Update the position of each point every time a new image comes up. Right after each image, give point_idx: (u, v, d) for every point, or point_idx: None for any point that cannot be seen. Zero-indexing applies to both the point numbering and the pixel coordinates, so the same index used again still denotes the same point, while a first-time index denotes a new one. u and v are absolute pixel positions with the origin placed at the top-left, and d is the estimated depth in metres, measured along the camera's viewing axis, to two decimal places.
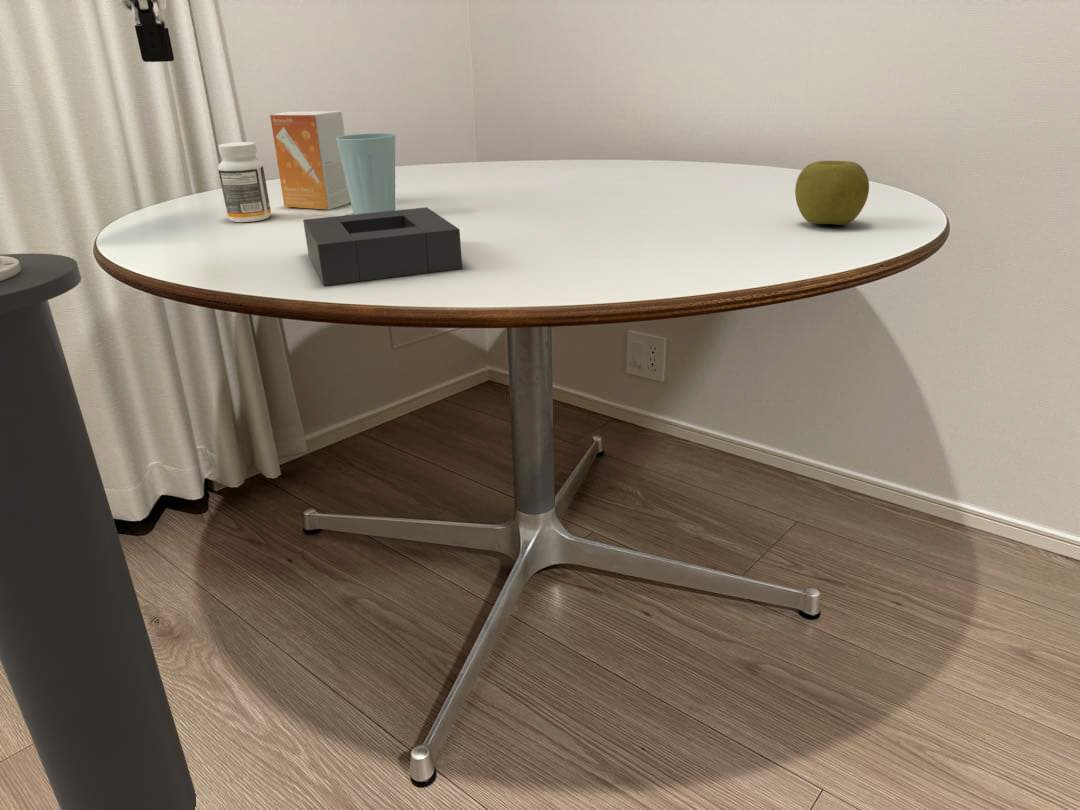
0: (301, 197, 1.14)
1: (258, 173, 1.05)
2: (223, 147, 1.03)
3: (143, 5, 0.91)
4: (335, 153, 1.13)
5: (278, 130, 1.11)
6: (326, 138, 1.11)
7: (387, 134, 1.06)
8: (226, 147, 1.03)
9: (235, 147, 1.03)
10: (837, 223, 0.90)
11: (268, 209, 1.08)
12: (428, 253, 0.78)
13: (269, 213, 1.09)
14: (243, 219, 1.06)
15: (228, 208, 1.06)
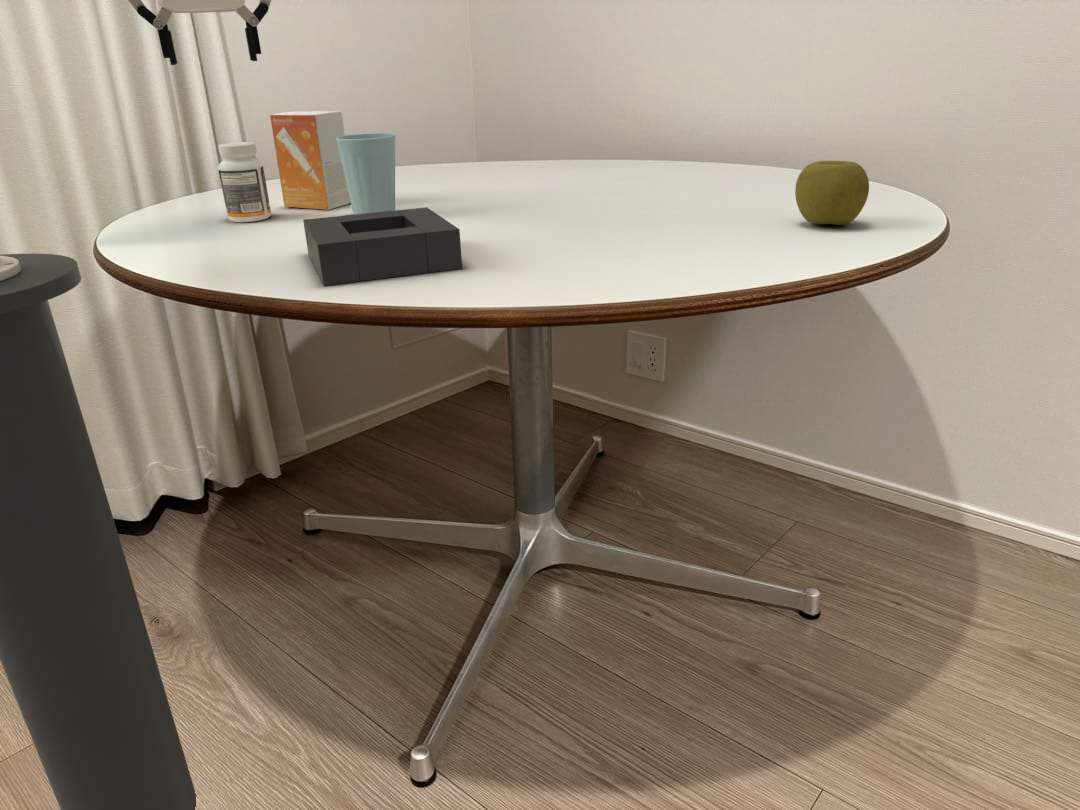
0: (301, 197, 1.14)
1: (258, 173, 1.05)
2: (223, 147, 1.03)
3: None
4: (335, 153, 1.13)
5: (278, 130, 1.11)
6: (326, 138, 1.10)
7: (387, 134, 1.06)
8: (226, 147, 1.03)
9: (235, 147, 1.03)
10: (837, 223, 0.90)
11: (268, 209, 1.08)
12: (428, 253, 0.78)
13: (269, 213, 1.09)
14: (243, 219, 1.06)
15: (228, 208, 1.06)
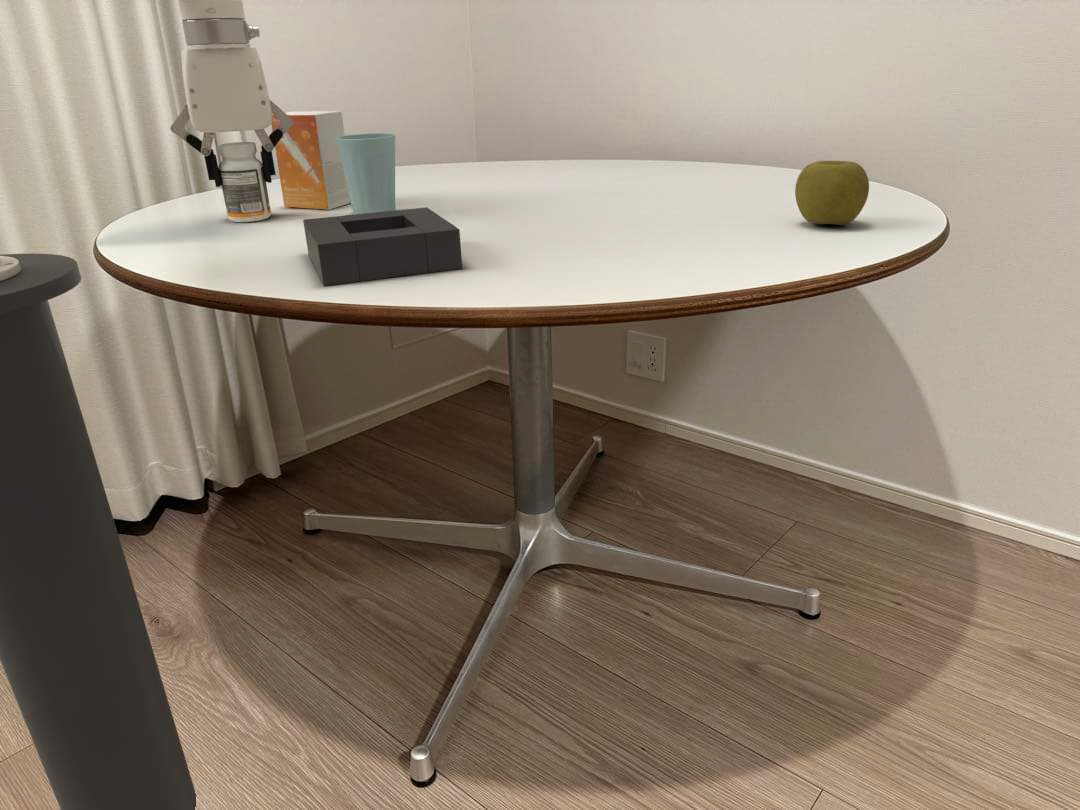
0: (301, 197, 1.14)
1: (258, 173, 1.05)
2: (223, 147, 1.03)
3: (187, 142, 1.03)
4: (335, 153, 1.13)
5: None
6: (325, 138, 1.10)
7: (387, 134, 1.06)
8: (226, 147, 1.03)
9: (235, 147, 1.03)
10: (837, 223, 0.90)
11: (268, 209, 1.08)
12: (428, 253, 0.78)
13: (269, 213, 1.09)
14: (243, 219, 1.06)
15: (228, 208, 1.06)
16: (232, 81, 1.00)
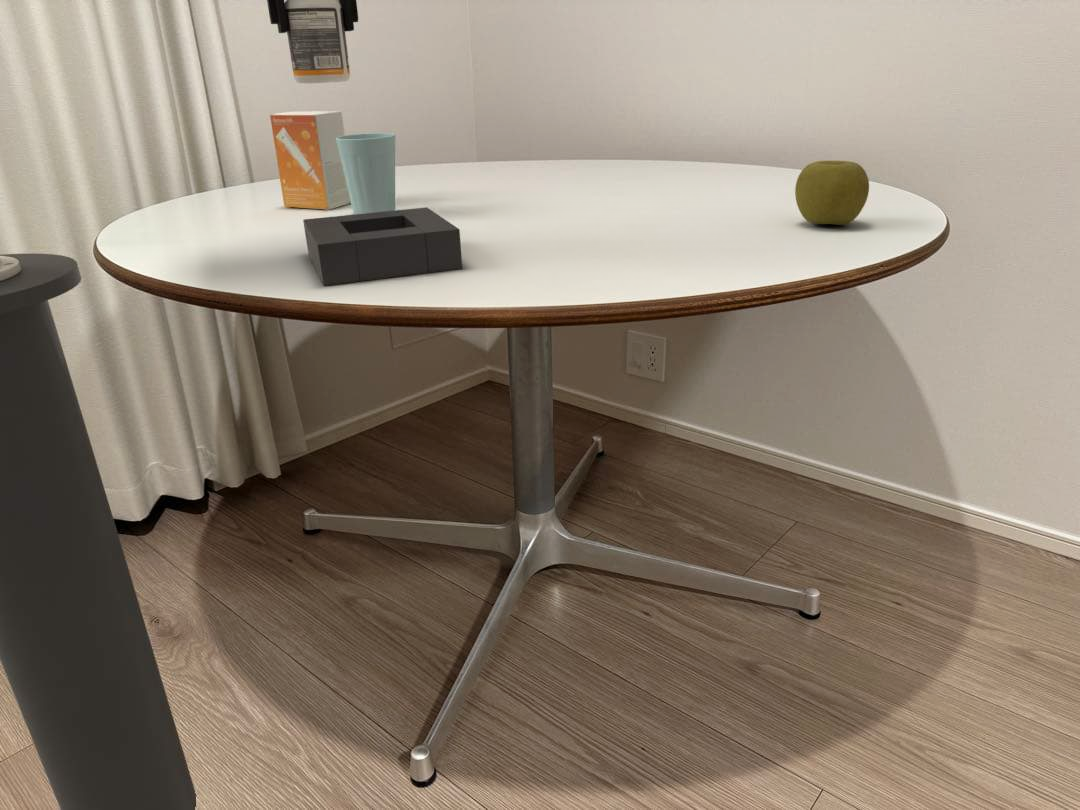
0: (301, 197, 1.14)
1: (338, 14, 0.79)
2: None
3: None
4: (335, 153, 1.13)
5: (278, 130, 1.11)
6: (326, 138, 1.10)
7: (387, 134, 1.06)
8: None
9: None
10: (837, 223, 0.90)
11: (348, 68, 0.81)
12: (428, 253, 0.78)
13: (348, 74, 0.82)
14: (316, 78, 0.79)
15: (296, 63, 0.79)
16: None
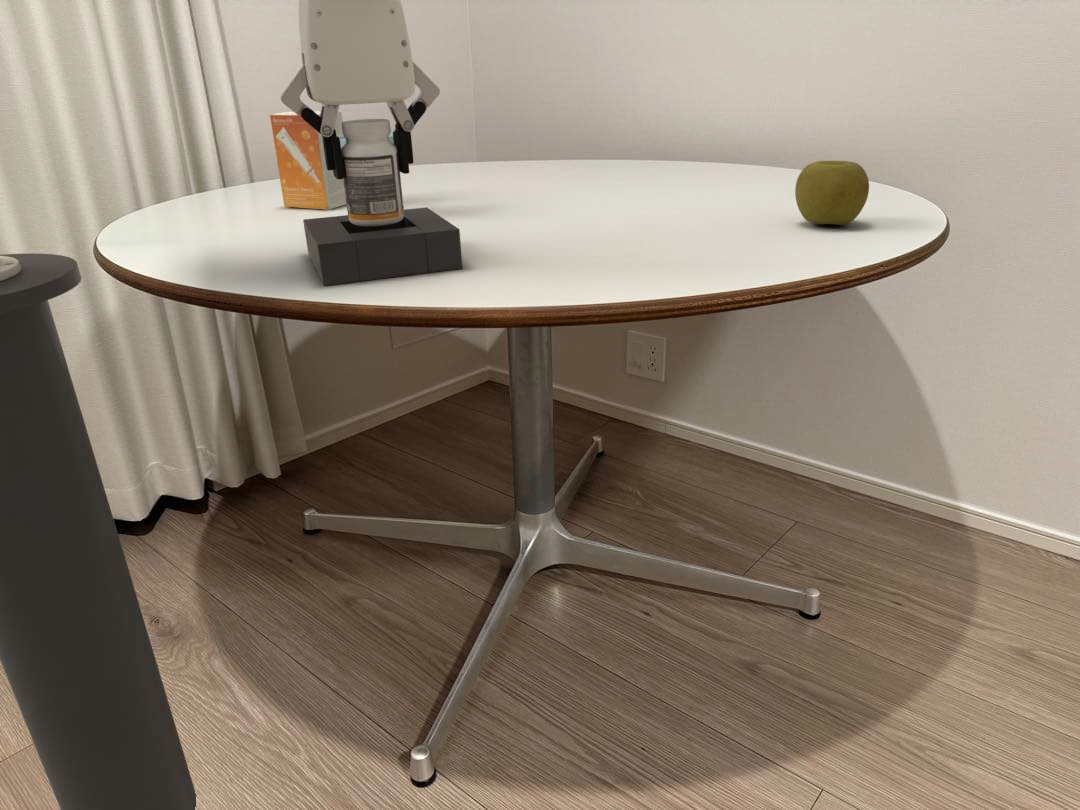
0: (301, 197, 1.14)
1: (394, 160, 0.78)
2: (350, 125, 0.76)
3: None
4: None
5: (278, 130, 1.11)
6: None
7: None
8: (355, 125, 0.76)
9: (367, 125, 0.76)
10: (837, 223, 0.90)
11: (402, 209, 0.81)
12: (428, 253, 0.78)
13: (403, 214, 0.81)
14: (372, 222, 0.79)
15: (352, 208, 0.79)
16: (368, 33, 0.73)
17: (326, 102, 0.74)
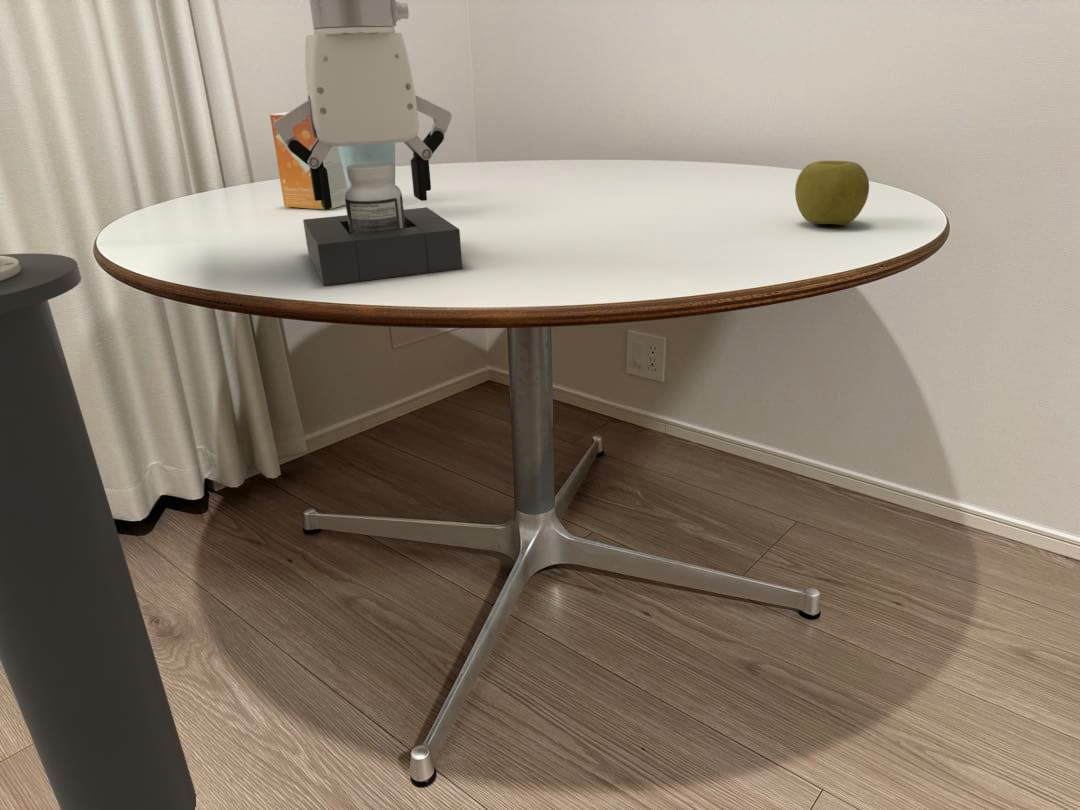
0: (301, 197, 1.14)
1: (398, 203, 0.80)
2: (355, 170, 0.78)
3: (288, 147, 0.76)
4: (335, 153, 1.13)
5: None
6: None
7: None
8: (360, 170, 0.77)
9: (371, 170, 0.77)
10: (837, 223, 0.90)
11: None
12: (428, 253, 0.78)
13: None
14: None
15: None
16: (373, 78, 0.74)
17: (332, 144, 0.76)
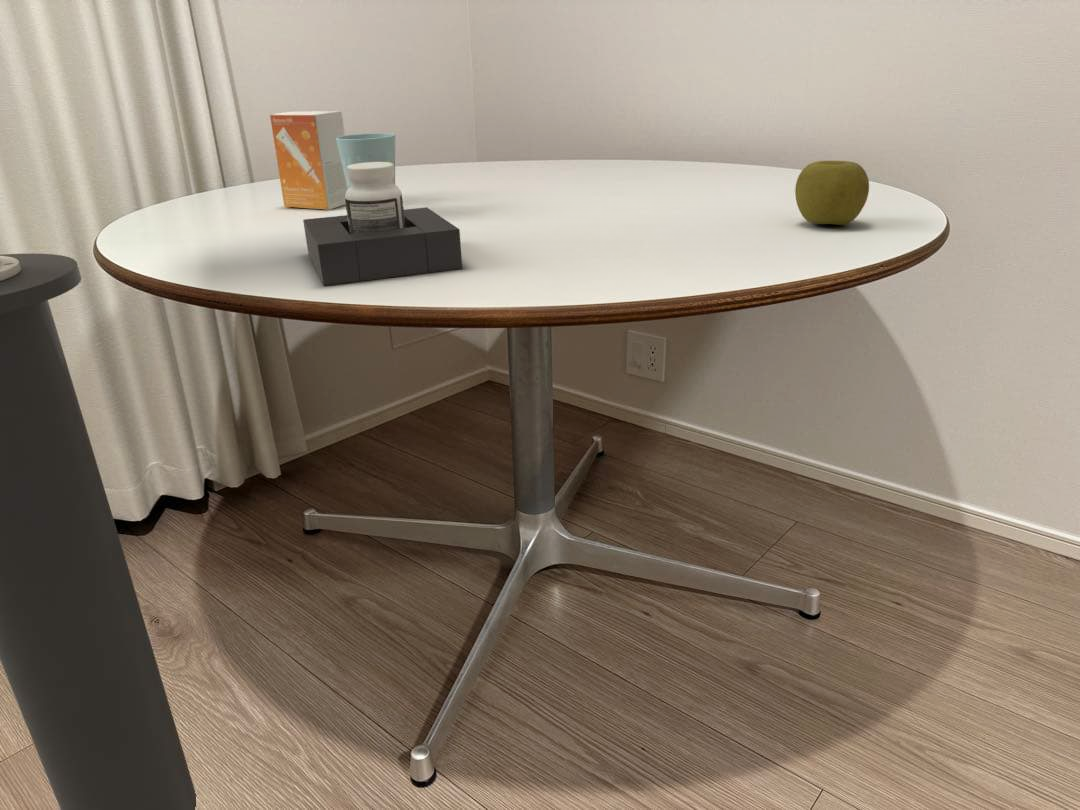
0: (301, 197, 1.14)
1: (398, 203, 0.80)
2: (355, 170, 0.78)
3: None
4: (335, 153, 1.13)
5: (278, 130, 1.11)
6: (325, 138, 1.11)
7: (387, 134, 1.06)
8: (360, 170, 0.77)
9: (371, 170, 0.77)
10: (837, 223, 0.90)
11: None
12: (428, 253, 0.78)
13: None
14: None
15: None
16: None
17: None
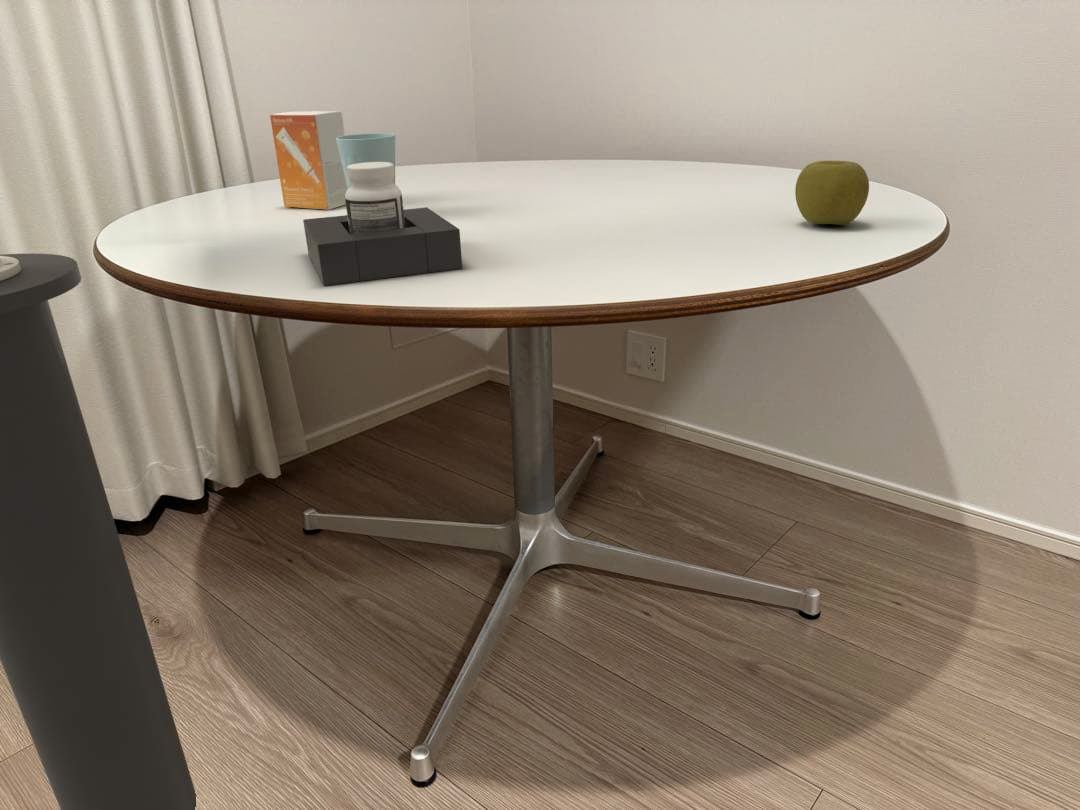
0: (301, 197, 1.14)
1: (398, 203, 0.80)
2: (355, 170, 0.78)
3: None
4: (335, 153, 1.13)
5: (278, 130, 1.11)
6: (325, 138, 1.10)
7: (387, 134, 1.06)
8: (360, 170, 0.77)
9: (371, 170, 0.77)
10: (837, 223, 0.90)
11: None
12: (428, 253, 0.78)
13: None
14: None
15: None
16: None
17: None
